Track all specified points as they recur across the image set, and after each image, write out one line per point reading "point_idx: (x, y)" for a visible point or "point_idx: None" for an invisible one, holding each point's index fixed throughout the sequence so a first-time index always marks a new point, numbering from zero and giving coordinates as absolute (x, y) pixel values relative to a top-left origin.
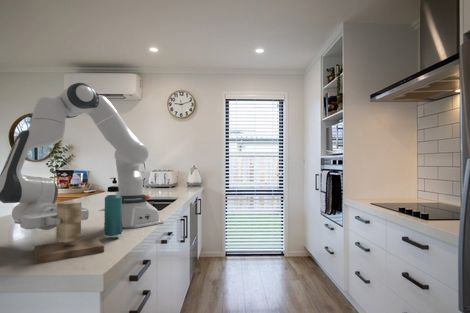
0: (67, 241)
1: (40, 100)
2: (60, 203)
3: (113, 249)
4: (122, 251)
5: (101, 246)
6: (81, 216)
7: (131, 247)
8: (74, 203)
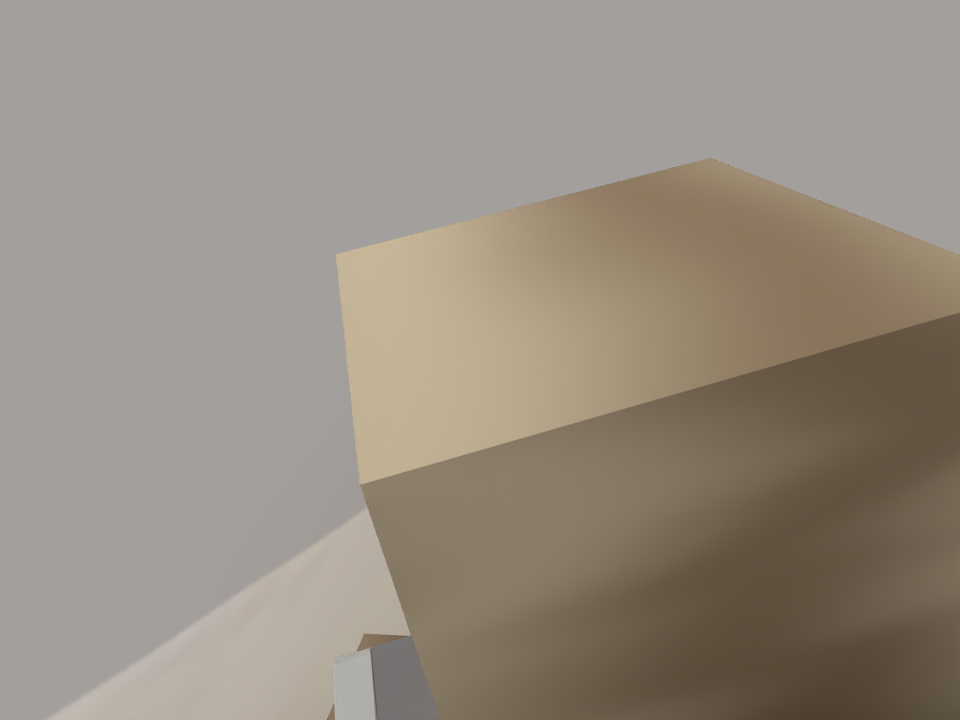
0: None
1: None
2: (868, 223)
3: (280, 696)
4: (290, 592)
5: (390, 637)
6: (357, 656)
7: (161, 649)
8: (517, 216)
